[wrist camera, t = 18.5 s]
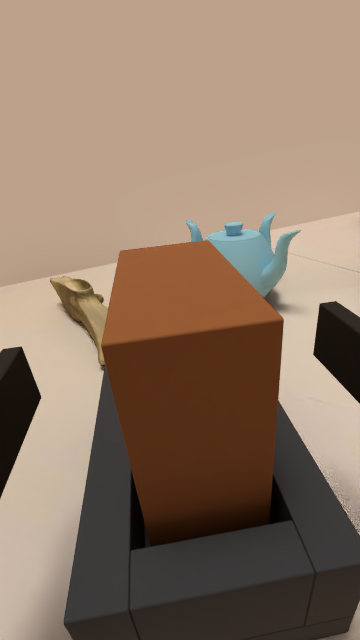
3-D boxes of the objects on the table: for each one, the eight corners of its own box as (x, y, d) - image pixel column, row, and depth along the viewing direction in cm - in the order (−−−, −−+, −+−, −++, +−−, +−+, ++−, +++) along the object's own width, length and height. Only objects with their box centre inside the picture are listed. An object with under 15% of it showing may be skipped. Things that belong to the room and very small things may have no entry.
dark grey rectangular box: (100, 686, 12) (62, 624, 9) (120, 410, 25) (106, 354, 23) (348, 632, 12) (375, 560, 10) (239, 391, 26) (239, 334, 23)
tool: (162, 358, 33) (160, 321, 31) (106, 381, 30) (99, 342, 28) (92, 288, 49) (87, 261, 47) (51, 298, 47) (44, 269, 44)
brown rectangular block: (157, 576, 13) (99, 344, 8) (149, 413, 22) (119, 250, 17) (268, 554, 14) (285, 318, 8) (216, 402, 23) (208, 239, 17)
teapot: (272, 278, 48) (275, 211, 43) (296, 317, 36) (304, 229, 32) (190, 284, 49) (184, 218, 45) (187, 322, 37) (179, 239, 33)
